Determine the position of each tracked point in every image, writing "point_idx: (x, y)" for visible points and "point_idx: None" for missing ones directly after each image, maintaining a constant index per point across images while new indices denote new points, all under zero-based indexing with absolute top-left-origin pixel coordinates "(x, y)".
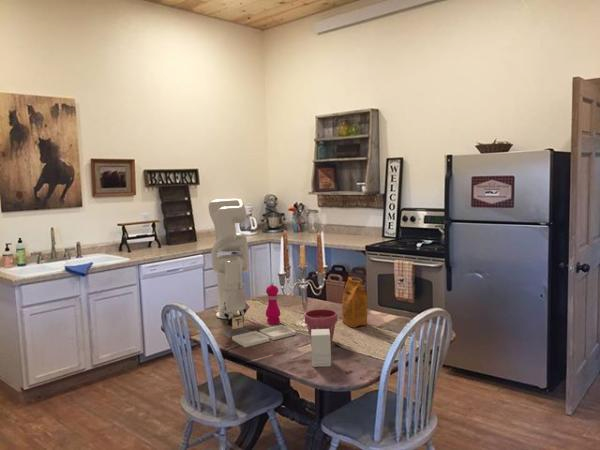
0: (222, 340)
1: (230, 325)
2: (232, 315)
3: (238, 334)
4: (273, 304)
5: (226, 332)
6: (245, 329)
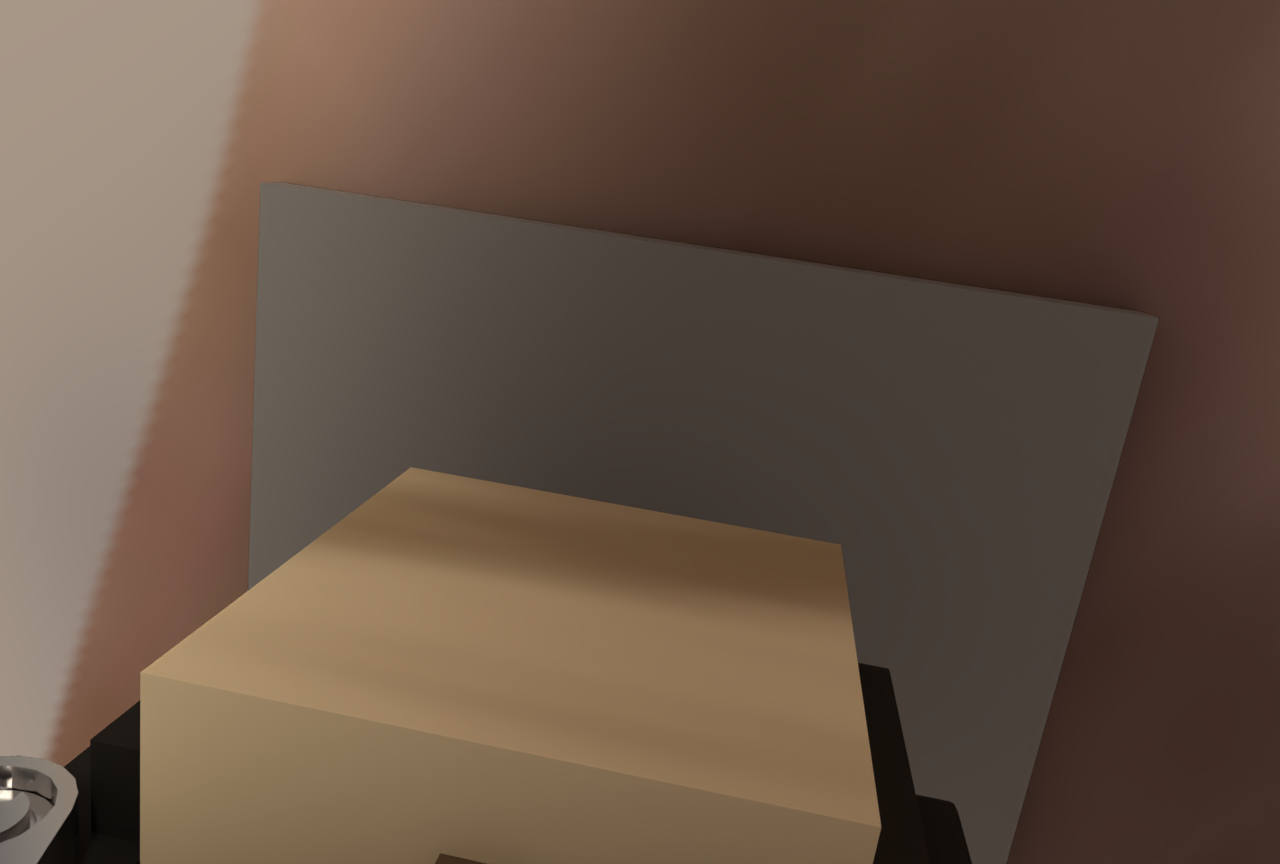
0: (91, 723)
1: None
2: (410, 814)
3: None
4: None
5: (404, 394)
6: (1008, 631)
